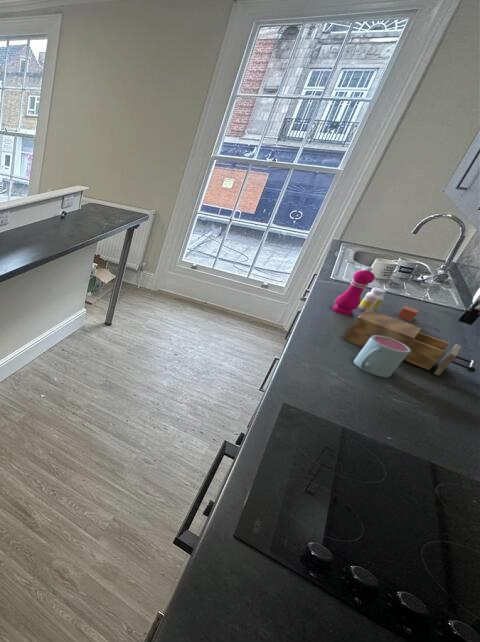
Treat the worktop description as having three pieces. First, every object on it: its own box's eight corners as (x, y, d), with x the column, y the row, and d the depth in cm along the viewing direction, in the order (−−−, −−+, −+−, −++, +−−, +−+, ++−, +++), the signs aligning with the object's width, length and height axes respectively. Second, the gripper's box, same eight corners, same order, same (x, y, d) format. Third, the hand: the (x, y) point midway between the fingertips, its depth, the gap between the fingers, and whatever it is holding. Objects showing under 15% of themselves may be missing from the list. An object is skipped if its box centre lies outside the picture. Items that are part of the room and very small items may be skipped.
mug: (362, 358, 133) (381, 333, 128) (396, 375, 126) (417, 349, 121) (338, 364, 128) (356, 339, 123) (371, 383, 121) (391, 356, 116)
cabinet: (403, 351, 140) (421, 328, 135) (395, 361, 133) (414, 338, 128) (352, 331, 150) (367, 309, 145) (342, 340, 143) (358, 317, 138)
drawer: (467, 373, 129) (485, 354, 125) (462, 385, 123) (481, 365, 119) (391, 344, 141) (406, 326, 137) (384, 353, 135) (398, 334, 131)
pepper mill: (343, 317, 159) (374, 271, 149) (325, 308, 165) (353, 263, 155) (356, 316, 161) (387, 270, 151) (337, 307, 167) (366, 263, 157)
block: (412, 319, 163) (419, 310, 161) (410, 322, 161) (417, 313, 159) (398, 315, 166) (405, 305, 164) (395, 317, 164) (402, 308, 162)
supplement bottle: (371, 310, 168) (386, 289, 163) (375, 315, 164) (390, 294, 159) (355, 306, 170) (369, 285, 165) (358, 311, 166) (373, 290, 161)
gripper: (528, 280, 114) (479, 334, 124) (527, 270, 123) (482, 321, 132) (489, 271, 119) (446, 323, 128) (491, 262, 127) (450, 311, 137)
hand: (464, 322), depth 130 cm, fingers closed
